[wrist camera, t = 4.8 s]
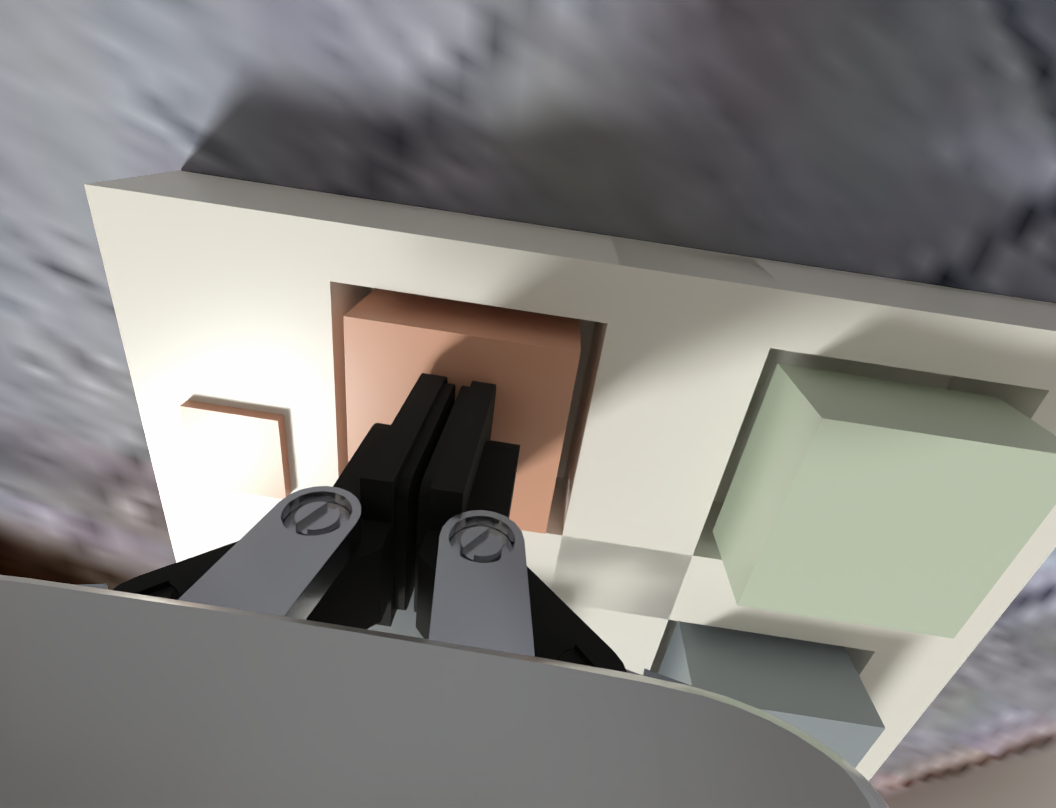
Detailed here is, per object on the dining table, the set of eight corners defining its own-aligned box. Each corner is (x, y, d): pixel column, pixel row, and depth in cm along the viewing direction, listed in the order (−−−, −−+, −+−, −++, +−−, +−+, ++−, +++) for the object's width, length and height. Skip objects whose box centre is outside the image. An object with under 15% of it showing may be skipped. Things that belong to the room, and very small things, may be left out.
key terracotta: (579, 313, 13) (580, 352, 11) (549, 475, 16) (545, 533, 14) (380, 282, 13) (343, 316, 11) (380, 449, 16) (349, 504, 14)
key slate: (843, 644, 16) (885, 728, 14) (784, 740, 19) (812, 824, 16) (678, 619, 16) (694, 698, 14) (640, 718, 19) (649, 799, 16)
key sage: (997, 396, 12) (1089, 459, 10) (896, 559, 15) (953, 638, 12) (777, 363, 12) (821, 418, 10) (712, 531, 15) (736, 605, 12)
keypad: (1085, 308, 14) (1224, 360, 11) (821, 713, 22) (859, 806, 19) (178, 170, 14) (72, 185, 11) (253, 625, 22) (203, 705, 19)
